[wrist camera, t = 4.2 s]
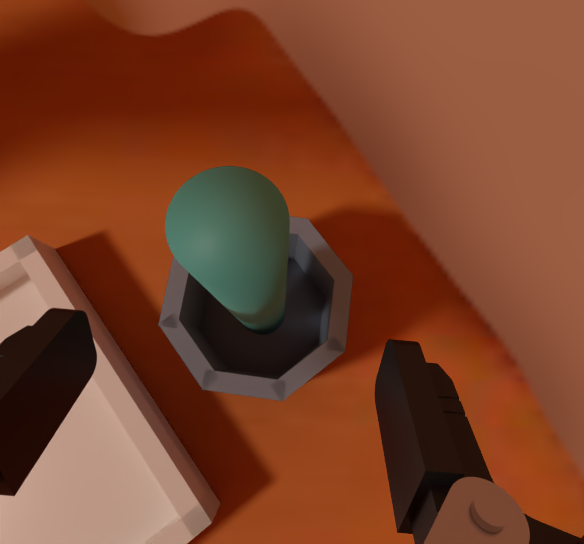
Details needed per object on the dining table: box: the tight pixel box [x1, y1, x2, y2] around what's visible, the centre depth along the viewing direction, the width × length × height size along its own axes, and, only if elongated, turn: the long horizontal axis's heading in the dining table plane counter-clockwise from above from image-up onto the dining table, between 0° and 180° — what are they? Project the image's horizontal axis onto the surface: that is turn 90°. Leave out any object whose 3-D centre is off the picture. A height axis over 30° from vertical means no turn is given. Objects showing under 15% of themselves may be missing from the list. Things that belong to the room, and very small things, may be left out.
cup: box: [158, 216, 354, 401], centre depth 19 cm, size 8×8×6 cm
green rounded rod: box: [165, 166, 290, 335], centre depth 14 cm, size 2×2×14 cm
